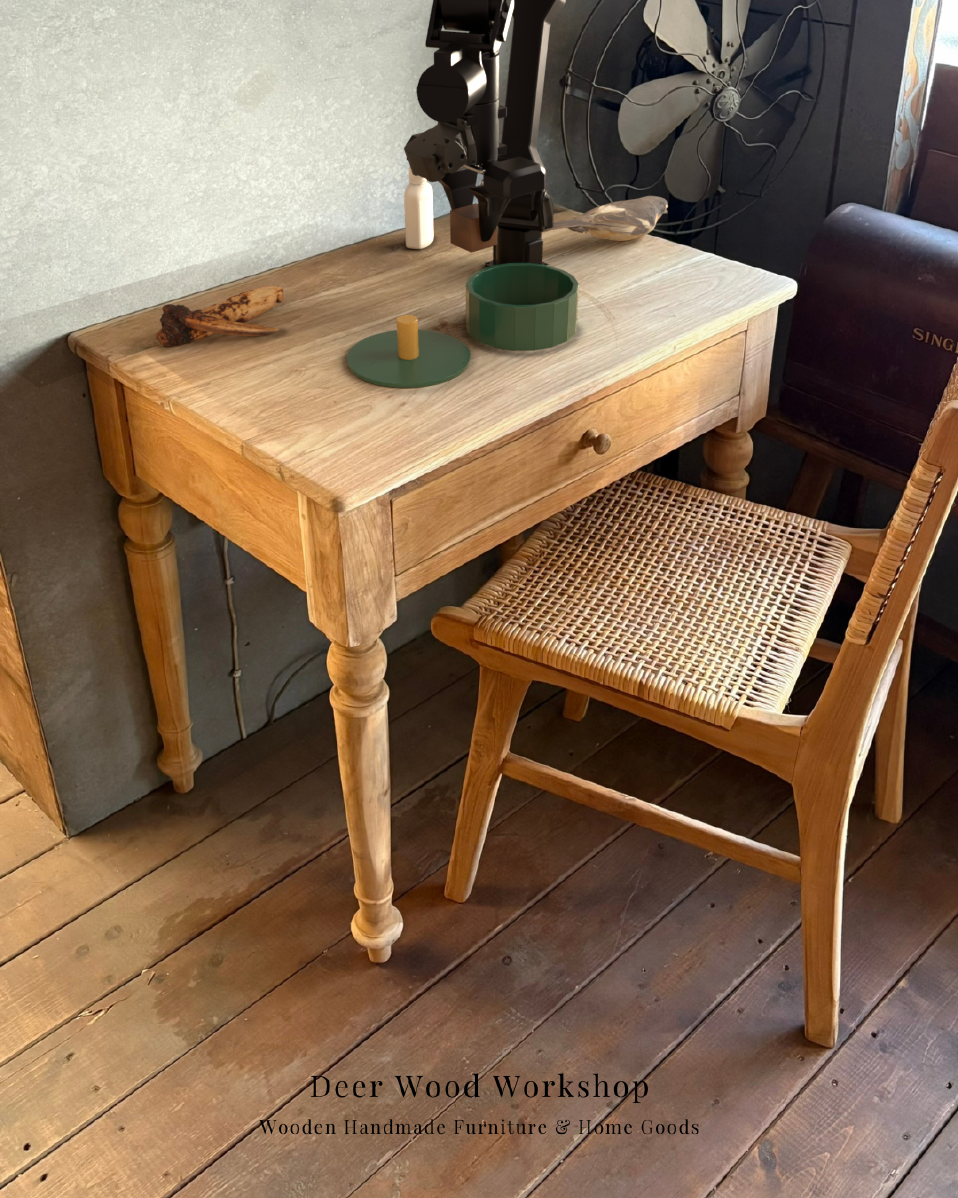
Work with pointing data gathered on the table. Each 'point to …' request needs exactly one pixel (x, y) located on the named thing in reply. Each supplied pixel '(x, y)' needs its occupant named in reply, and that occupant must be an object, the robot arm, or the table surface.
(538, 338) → the tin
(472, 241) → the block
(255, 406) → the table surface
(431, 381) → the lid
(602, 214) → the decorative bird
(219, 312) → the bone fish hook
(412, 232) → the eye dropper bottle
